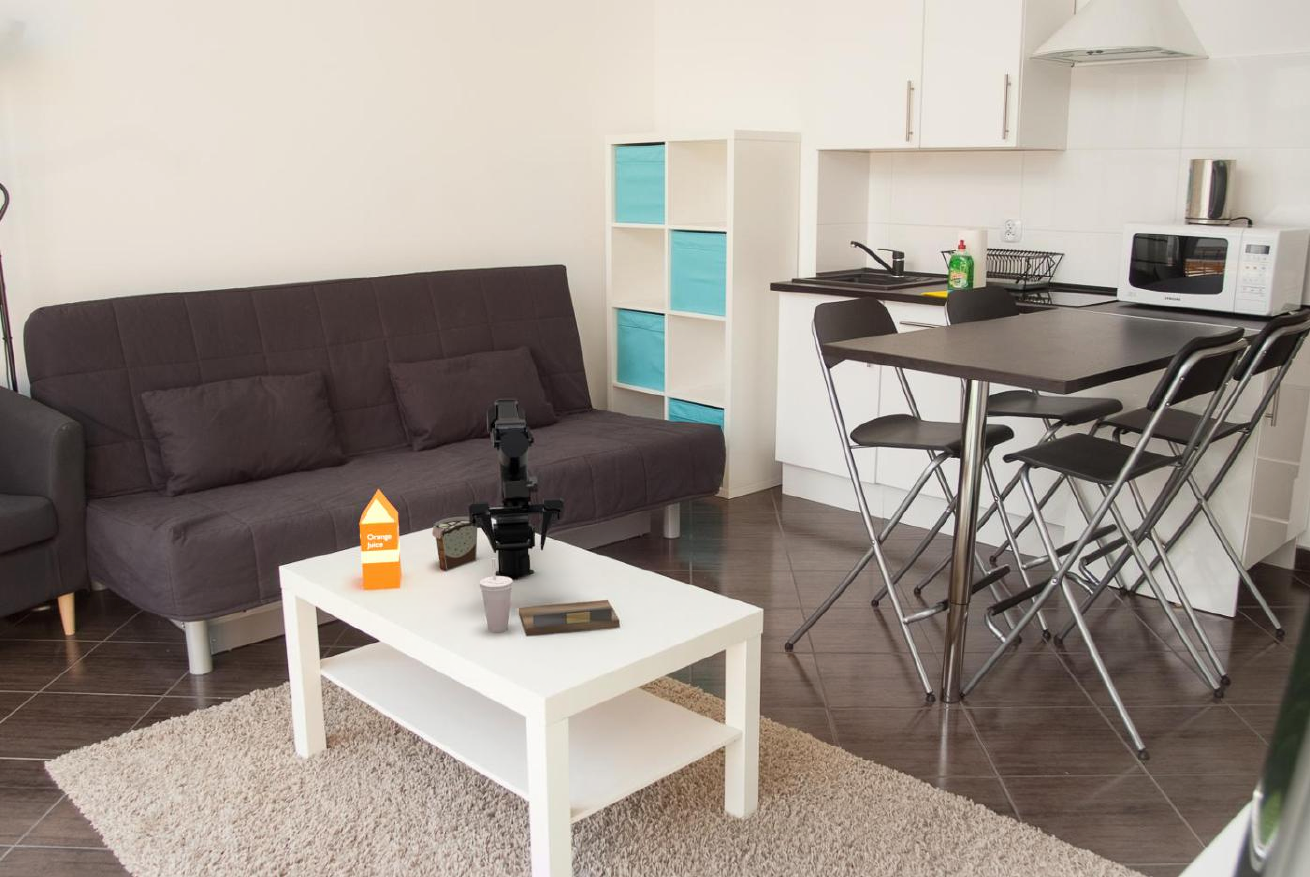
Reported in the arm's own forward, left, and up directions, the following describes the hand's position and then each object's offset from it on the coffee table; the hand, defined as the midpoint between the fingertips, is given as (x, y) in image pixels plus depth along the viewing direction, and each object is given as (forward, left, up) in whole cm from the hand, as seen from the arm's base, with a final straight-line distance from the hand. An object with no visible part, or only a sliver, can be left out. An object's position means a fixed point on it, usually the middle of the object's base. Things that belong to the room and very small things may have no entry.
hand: (518, 550), depth 230 cm
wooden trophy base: (+11, +2, -13) cm, 17 cm away
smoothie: (+2, -9, -13) cm, 16 cm away
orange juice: (-38, -2, -13) cm, 40 cm away
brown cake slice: (-35, +16, -13) cm, 41 cm away
